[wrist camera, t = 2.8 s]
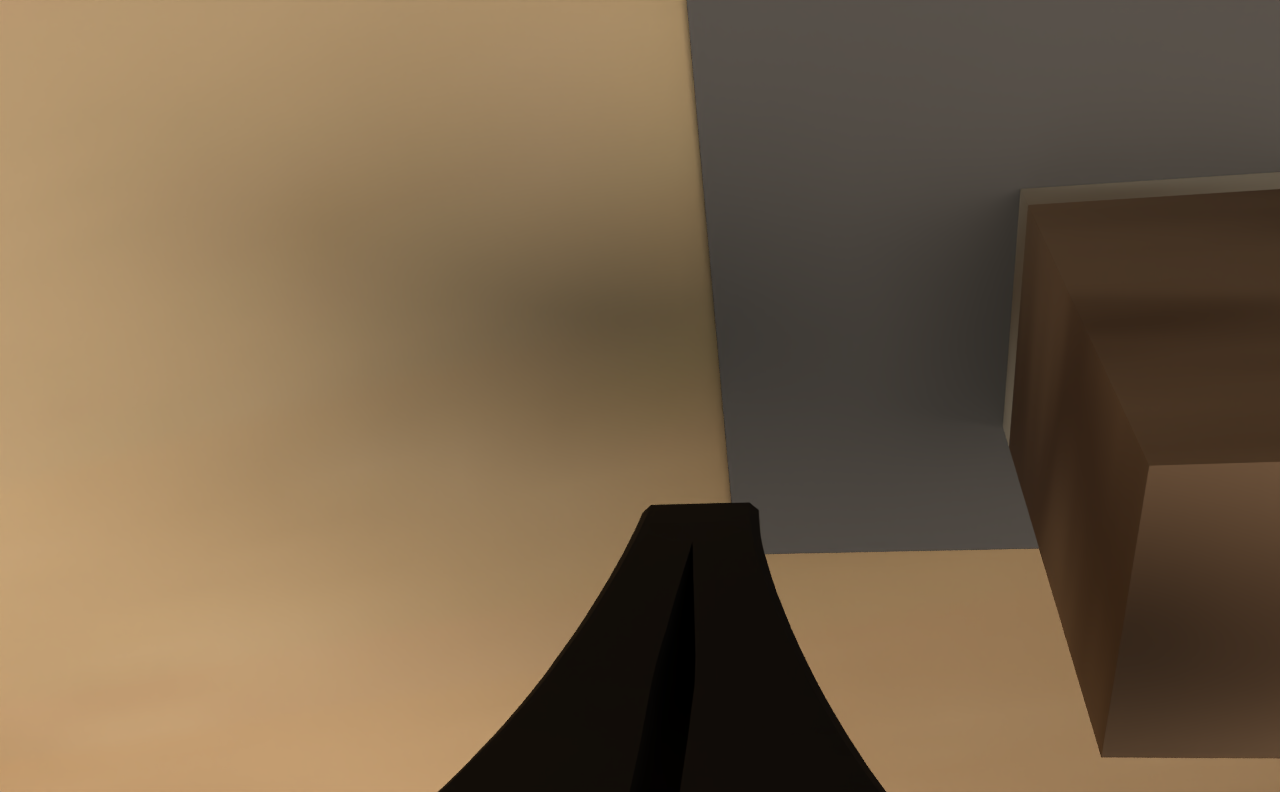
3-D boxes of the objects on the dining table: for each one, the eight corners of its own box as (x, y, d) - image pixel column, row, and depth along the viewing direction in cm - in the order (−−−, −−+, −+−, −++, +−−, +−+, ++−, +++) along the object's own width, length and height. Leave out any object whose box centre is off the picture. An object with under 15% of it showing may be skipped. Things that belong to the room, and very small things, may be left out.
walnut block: (1275, 416, 19) (1501, 759, 13) (1002, 426, 19) (1101, 757, 14) (1333, 168, 16) (1643, 451, 10) (1020, 188, 17) (1149, 465, 11)
